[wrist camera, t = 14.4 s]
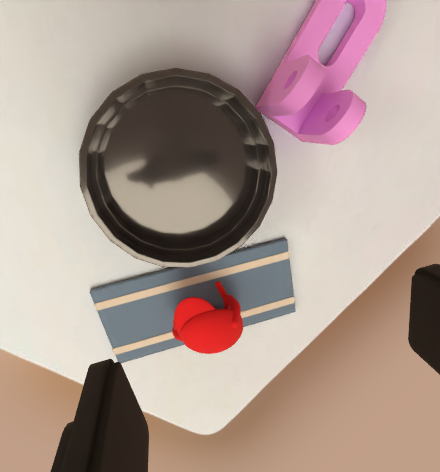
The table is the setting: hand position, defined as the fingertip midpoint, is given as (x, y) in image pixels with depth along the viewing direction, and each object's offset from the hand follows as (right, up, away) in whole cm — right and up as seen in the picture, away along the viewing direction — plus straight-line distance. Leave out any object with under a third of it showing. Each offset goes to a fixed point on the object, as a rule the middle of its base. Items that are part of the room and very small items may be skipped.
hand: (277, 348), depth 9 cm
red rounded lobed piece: (-3, -3, +22) cm, 23 cm away
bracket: (+7, +19, +17) cm, 27 cm away
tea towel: (-4, -3, +23) cm, 23 cm away
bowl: (-5, +9, +18) cm, 21 cm away
